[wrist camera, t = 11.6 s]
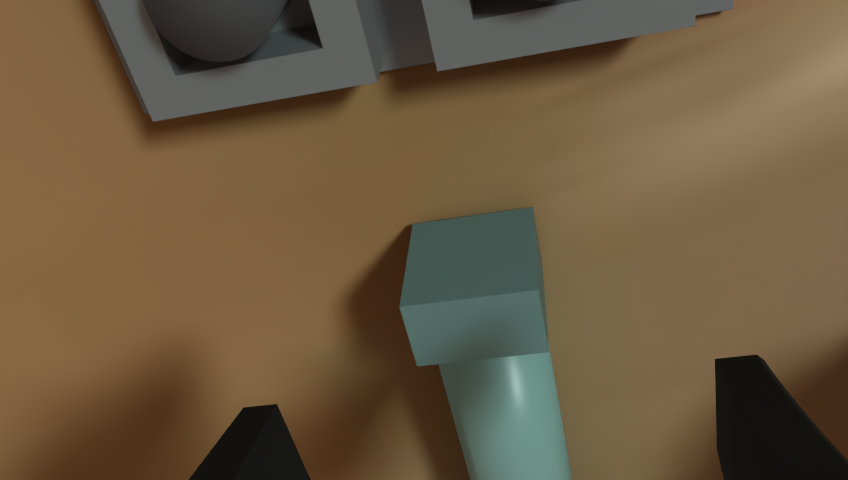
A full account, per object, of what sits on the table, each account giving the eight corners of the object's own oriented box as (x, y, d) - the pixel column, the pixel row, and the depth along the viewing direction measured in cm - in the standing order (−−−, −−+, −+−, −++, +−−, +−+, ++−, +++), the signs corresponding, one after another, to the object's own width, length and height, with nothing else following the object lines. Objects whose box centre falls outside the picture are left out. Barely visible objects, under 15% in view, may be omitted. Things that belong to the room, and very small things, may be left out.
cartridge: (532, 206, 22) (538, 289, 19) (588, 540, 30) (598, 636, 27) (412, 224, 23) (399, 307, 20) (498, 546, 31) (498, 640, 28)
